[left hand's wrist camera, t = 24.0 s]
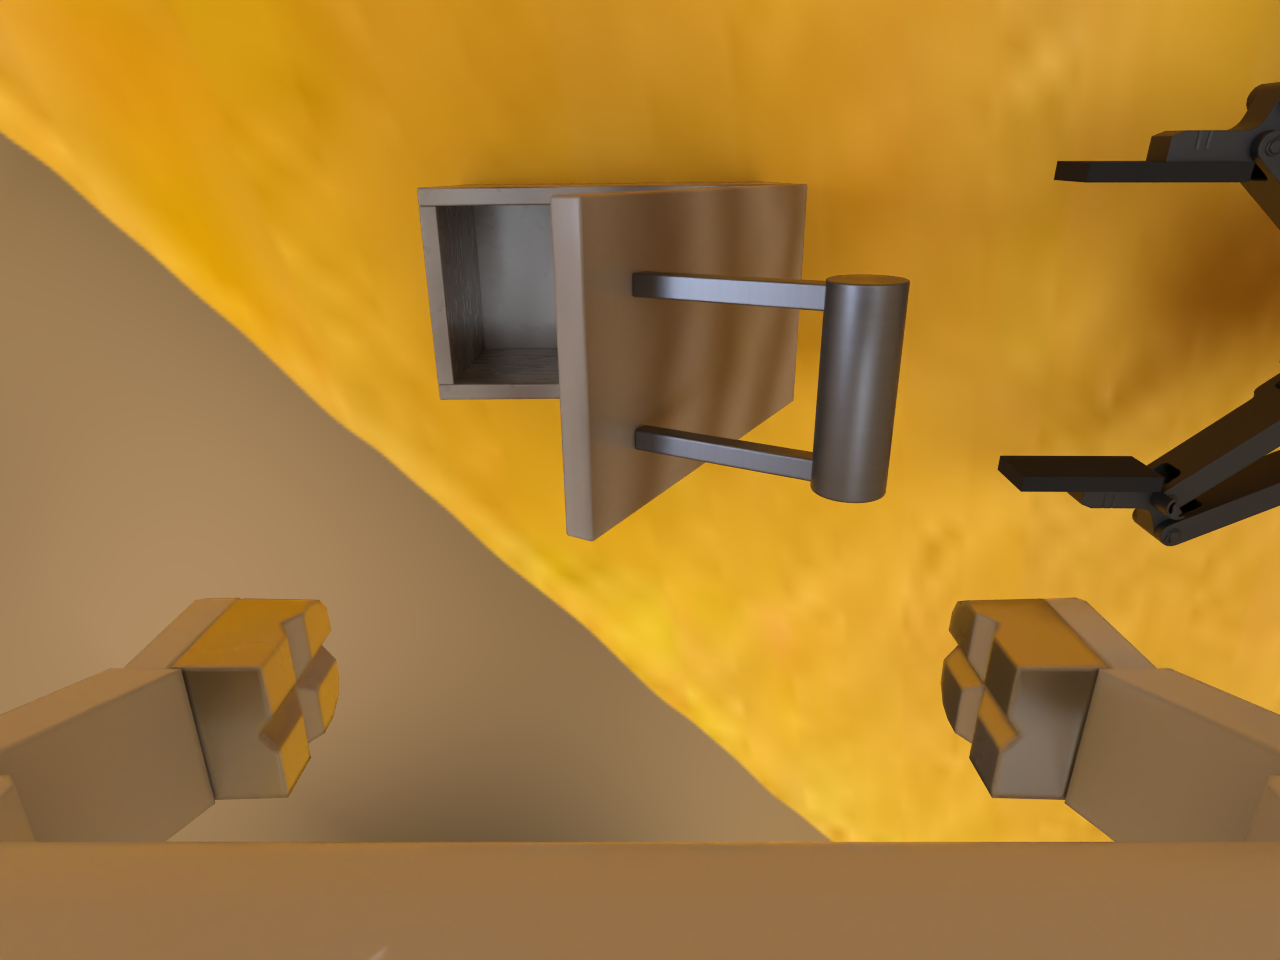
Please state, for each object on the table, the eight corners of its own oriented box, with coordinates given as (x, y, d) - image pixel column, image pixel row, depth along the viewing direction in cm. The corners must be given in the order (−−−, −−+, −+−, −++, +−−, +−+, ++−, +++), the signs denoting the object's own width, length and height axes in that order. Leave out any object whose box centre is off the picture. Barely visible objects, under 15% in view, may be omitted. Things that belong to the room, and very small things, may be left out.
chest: (476, 358, 48) (439, 400, 39) (460, 184, 45) (416, 187, 36) (756, 355, 48) (782, 396, 39) (763, 181, 45) (794, 183, 36)
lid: (565, 536, 24) (848, 608, 20) (548, 195, 21) (890, 196, 17) (774, 398, 39) (963, 423, 35) (786, 183, 35) (999, 183, 31)
